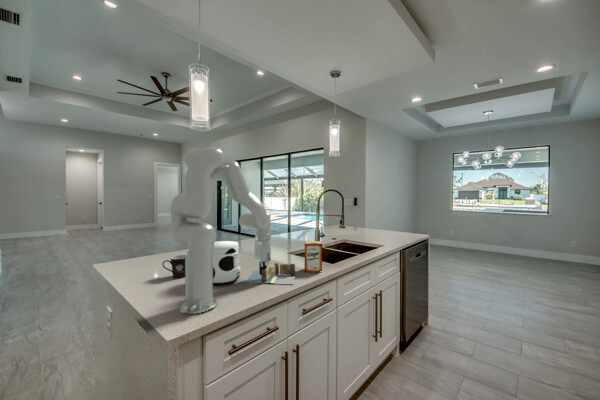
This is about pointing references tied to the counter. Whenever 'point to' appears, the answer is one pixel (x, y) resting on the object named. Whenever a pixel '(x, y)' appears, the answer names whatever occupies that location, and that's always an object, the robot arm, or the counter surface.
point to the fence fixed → (285, 269)
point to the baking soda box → (313, 256)
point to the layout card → (257, 278)
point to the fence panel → (268, 273)
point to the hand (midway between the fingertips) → (263, 274)
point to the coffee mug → (177, 266)
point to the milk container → (225, 262)
